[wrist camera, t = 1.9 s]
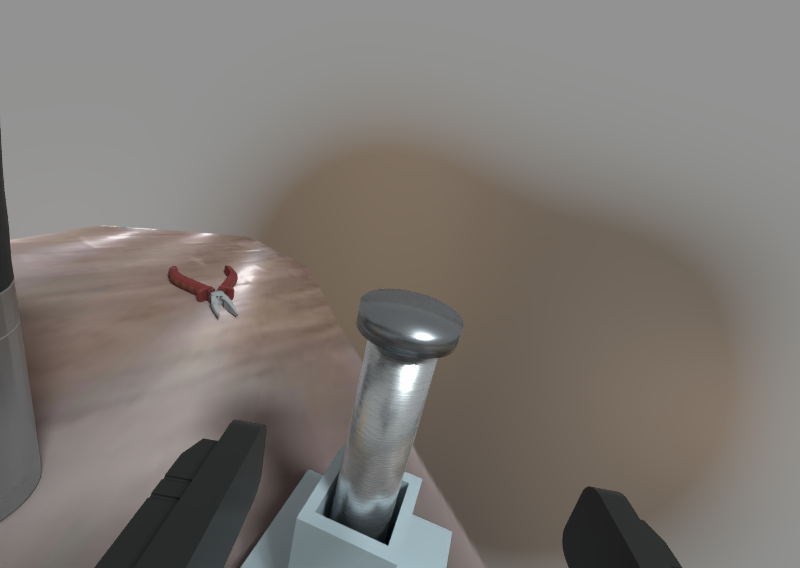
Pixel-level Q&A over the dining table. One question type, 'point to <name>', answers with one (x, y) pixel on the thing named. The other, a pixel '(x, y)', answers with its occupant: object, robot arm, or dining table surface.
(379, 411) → the column
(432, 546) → the stand base
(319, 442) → the dining table surface
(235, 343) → the dining table surface
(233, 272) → the pliers
